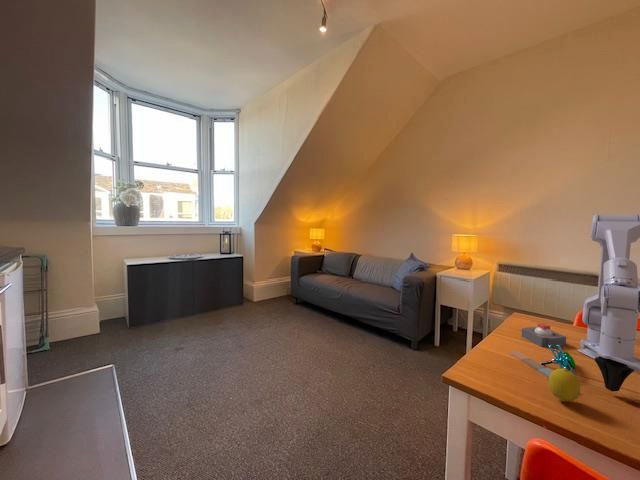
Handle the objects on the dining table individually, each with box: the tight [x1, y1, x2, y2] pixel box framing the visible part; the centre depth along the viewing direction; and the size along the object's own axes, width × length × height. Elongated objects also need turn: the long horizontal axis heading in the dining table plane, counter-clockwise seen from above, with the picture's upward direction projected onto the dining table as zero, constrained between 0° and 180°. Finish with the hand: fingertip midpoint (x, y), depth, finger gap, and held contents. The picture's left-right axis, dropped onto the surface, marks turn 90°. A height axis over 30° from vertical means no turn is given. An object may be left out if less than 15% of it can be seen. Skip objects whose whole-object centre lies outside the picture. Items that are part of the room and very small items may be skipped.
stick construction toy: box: [539, 345, 577, 376], centre depth 80 cm, size 12×7×8 cm
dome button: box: [534, 323, 553, 336], centre depth 96 cm, size 5×5×6 cm
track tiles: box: [508, 350, 554, 379], centre depth 81 cm, size 3×15×1 cm, turn 7°
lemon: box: [548, 367, 581, 403], centre depth 65 cm, size 6×6×8 cm
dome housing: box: [521, 326, 567, 348], centre depth 97 cm, size 9×9×3 cm
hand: (612, 389), depth 67 cm, fingers closed
